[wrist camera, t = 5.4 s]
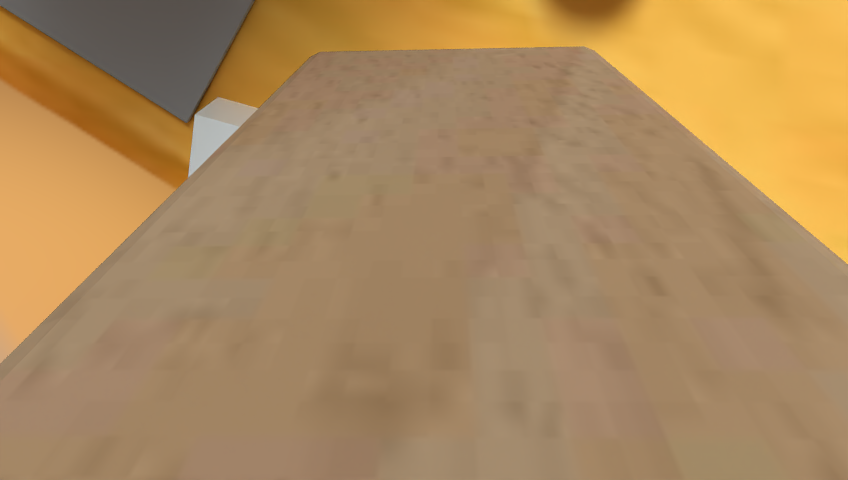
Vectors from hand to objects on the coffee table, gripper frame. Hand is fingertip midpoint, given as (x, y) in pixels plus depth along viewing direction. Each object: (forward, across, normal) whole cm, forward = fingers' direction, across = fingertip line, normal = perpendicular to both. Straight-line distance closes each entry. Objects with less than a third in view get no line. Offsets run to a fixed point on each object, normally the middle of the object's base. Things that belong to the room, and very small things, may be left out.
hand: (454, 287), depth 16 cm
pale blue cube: (+23, -13, -3) cm, 27 cm away
